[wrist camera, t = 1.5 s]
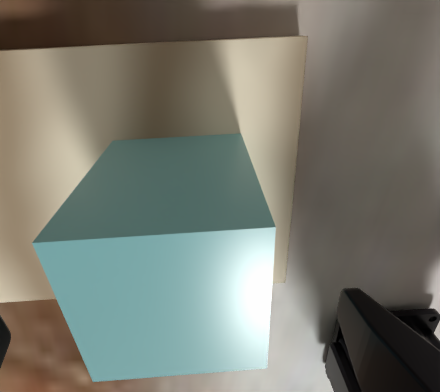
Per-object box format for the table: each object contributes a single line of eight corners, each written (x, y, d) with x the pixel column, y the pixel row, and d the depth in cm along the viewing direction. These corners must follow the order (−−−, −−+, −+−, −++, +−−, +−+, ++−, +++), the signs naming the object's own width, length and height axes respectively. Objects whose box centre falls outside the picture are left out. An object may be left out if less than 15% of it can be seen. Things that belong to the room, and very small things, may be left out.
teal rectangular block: (241, 133, 12) (275, 226, 6) (241, 235, 15) (267, 368, 9) (112, 140, 12) (31, 242, 6) (135, 242, 15) (93, 381, 9)
